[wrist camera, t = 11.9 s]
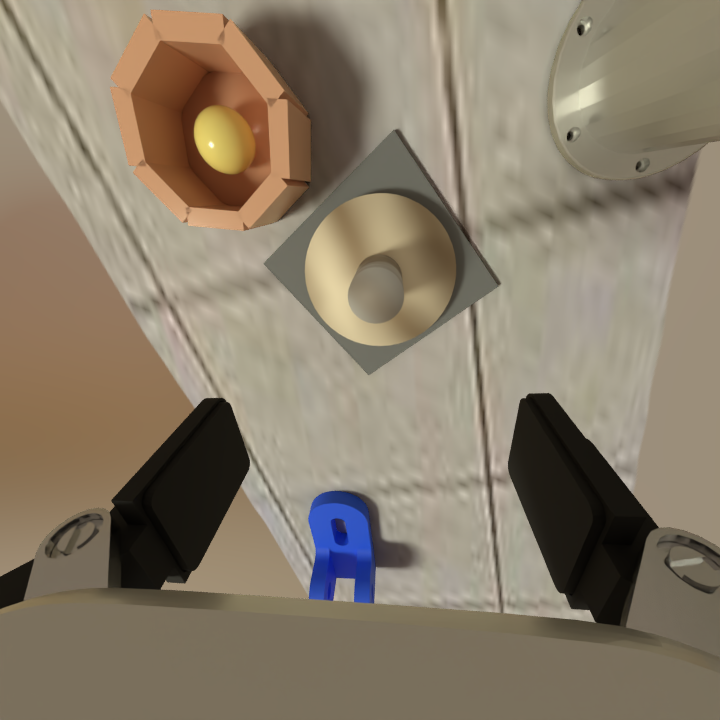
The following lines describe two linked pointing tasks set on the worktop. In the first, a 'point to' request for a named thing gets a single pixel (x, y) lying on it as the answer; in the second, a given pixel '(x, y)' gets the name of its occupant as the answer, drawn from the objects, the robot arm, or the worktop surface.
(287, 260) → the mat
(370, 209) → the lid
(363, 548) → the bracket
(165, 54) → the bowl
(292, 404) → the worktop surface
